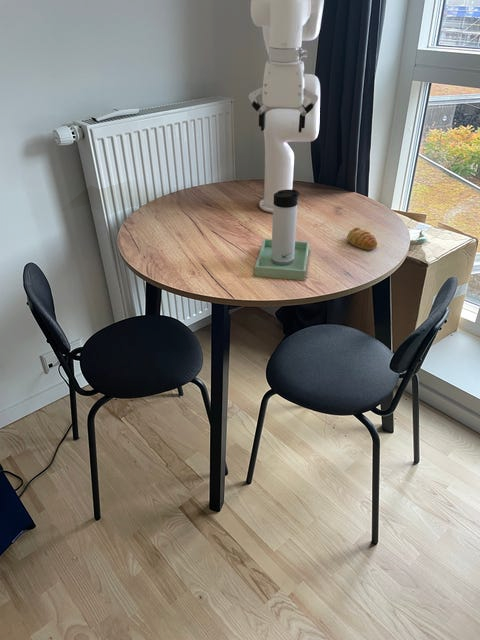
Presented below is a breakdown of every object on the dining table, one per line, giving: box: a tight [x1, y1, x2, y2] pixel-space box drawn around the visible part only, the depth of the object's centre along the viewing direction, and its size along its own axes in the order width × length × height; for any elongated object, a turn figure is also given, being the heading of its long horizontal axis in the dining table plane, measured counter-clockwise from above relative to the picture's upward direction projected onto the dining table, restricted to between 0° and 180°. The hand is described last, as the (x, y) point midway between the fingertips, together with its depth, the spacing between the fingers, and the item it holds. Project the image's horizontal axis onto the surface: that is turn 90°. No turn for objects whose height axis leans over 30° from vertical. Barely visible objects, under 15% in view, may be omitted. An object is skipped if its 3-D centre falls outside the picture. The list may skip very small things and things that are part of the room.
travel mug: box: [271, 189, 300, 266], centre depth 129 cm, size 6×7×20 cm
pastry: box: [346, 227, 379, 251], centre depth 143 cm, size 9×7×4 cm
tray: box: [254, 238, 310, 281], centre depth 134 cm, size 17×13×3 cm
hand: (281, 130), depth 125 cm, fingers open, 9 cm apart
